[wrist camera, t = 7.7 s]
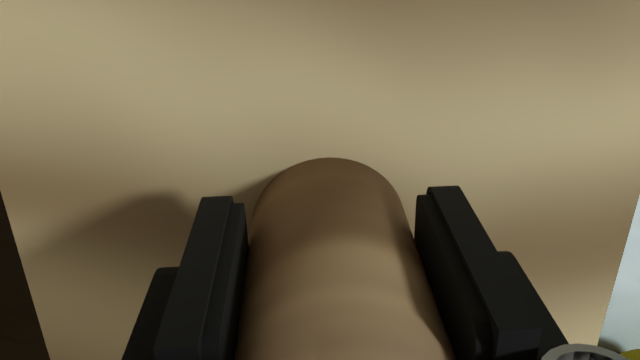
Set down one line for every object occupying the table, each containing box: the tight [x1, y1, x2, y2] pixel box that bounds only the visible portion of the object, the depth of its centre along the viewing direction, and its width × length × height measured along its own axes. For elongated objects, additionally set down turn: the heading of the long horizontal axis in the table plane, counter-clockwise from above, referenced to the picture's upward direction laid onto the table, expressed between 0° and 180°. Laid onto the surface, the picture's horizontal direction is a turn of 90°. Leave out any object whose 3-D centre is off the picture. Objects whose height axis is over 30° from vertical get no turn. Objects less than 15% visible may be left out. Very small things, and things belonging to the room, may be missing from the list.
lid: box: [0, 0, 640, 360], centre depth 10 cm, size 13×13×7 cm
